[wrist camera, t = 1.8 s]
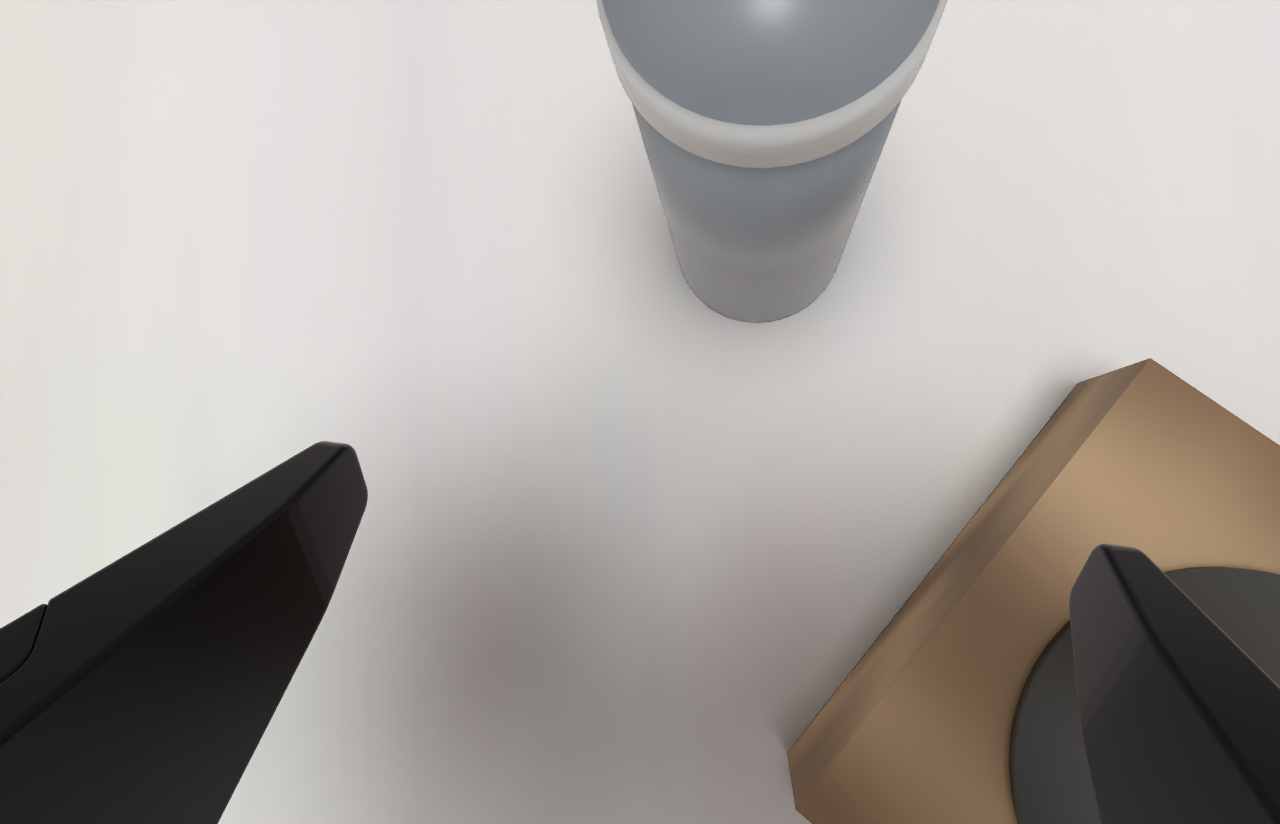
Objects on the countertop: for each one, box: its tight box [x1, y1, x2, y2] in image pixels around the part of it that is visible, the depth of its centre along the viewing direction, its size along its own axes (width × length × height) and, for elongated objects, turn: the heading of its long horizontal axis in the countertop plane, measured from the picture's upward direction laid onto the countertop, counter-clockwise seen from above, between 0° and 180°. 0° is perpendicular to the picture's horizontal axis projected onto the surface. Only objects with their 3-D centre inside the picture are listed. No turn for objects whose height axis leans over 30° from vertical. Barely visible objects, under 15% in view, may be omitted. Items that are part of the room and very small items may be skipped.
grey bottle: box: [596, 0, 947, 323], centre depth 17 cm, size 5×5×13 cm
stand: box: [787, 358, 1280, 824], centre depth 19 cm, size 13×13×4 cm
